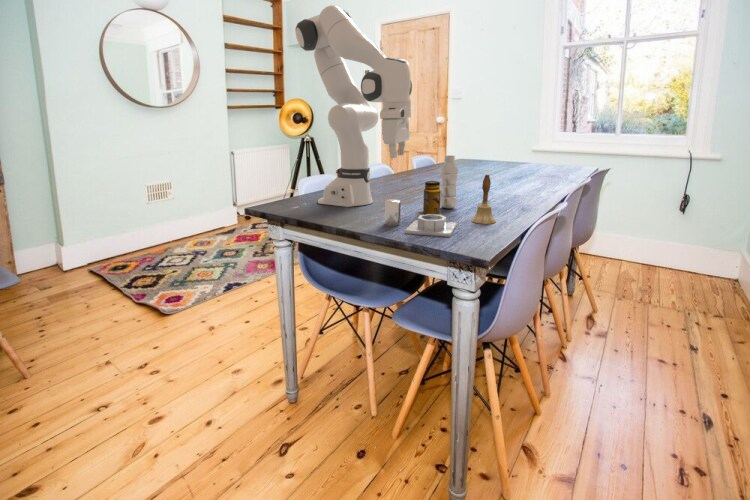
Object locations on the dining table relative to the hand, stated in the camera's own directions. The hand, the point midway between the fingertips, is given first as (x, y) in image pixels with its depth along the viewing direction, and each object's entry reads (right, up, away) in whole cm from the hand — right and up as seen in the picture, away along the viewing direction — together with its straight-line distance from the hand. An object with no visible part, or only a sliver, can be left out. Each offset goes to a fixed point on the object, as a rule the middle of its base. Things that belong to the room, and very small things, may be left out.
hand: (397, 156), depth 149 cm
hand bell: (+30, -21, +8) cm, 37 cm away
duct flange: (+11, -24, -2) cm, 26 cm away
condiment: (+12, -18, +19) cm, 29 cm away
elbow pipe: (-2, -22, +5) cm, 22 cm away
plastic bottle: (+21, -14, +28) cm, 38 cm away
